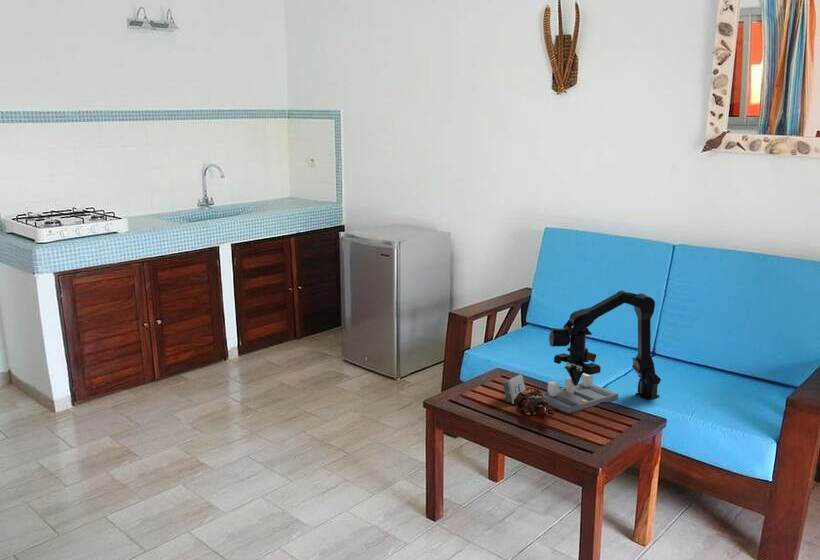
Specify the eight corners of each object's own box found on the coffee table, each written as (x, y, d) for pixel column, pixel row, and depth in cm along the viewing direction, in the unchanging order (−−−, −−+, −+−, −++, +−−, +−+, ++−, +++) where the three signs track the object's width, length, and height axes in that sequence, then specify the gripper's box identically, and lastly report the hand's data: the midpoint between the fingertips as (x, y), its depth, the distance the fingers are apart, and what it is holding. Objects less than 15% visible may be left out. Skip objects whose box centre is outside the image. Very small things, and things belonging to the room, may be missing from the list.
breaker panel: (617, 398, 270) (619, 381, 268) (568, 413, 256) (569, 395, 254) (586, 386, 283) (587, 369, 281) (537, 399, 269) (538, 381, 267)
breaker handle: (575, 395, 272) (576, 378, 271) (569, 396, 271) (570, 380, 269) (569, 392, 275) (570, 376, 273) (564, 394, 273) (565, 378, 272)
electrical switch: (514, 406, 263) (513, 381, 261) (502, 403, 266) (501, 379, 265) (527, 398, 270) (526, 374, 268) (515, 396, 273) (514, 373, 272)
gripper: (611, 348, 263) (609, 388, 266) (574, 336, 278) (572, 374, 281) (590, 353, 257) (588, 394, 260) (553, 341, 272) (552, 380, 275)
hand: (575, 385), depth 269 cm, fingers closed
